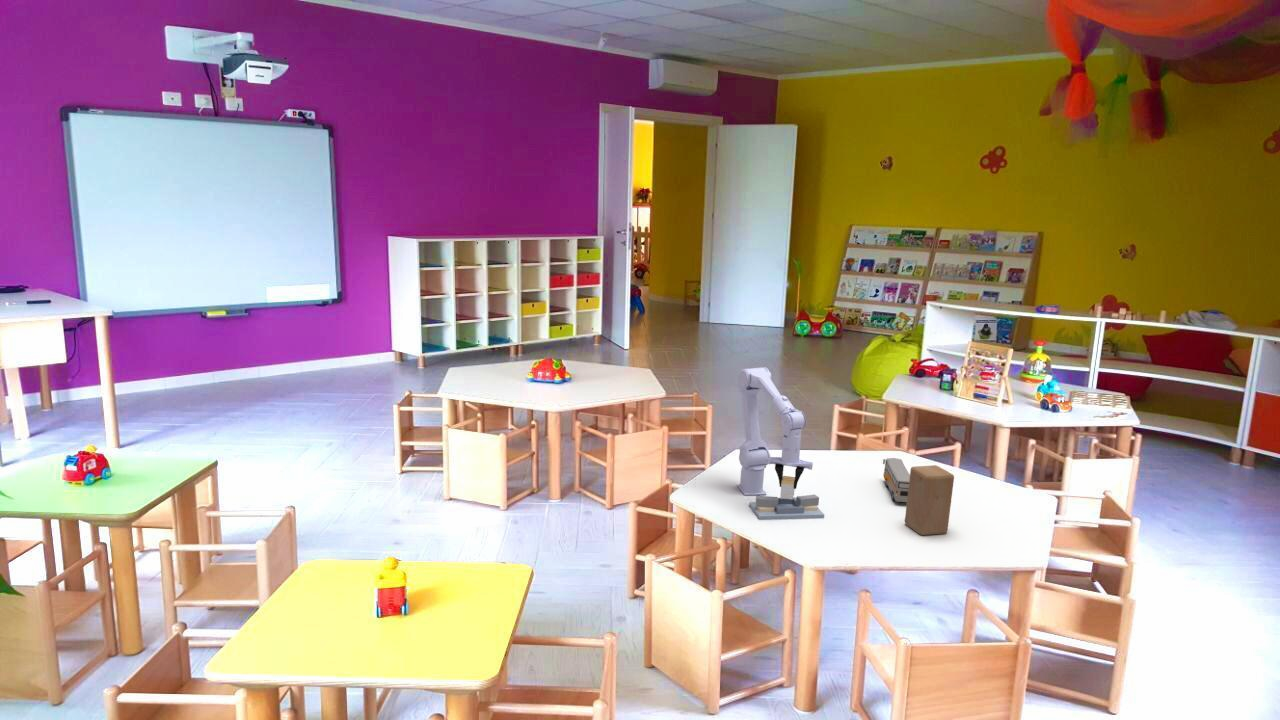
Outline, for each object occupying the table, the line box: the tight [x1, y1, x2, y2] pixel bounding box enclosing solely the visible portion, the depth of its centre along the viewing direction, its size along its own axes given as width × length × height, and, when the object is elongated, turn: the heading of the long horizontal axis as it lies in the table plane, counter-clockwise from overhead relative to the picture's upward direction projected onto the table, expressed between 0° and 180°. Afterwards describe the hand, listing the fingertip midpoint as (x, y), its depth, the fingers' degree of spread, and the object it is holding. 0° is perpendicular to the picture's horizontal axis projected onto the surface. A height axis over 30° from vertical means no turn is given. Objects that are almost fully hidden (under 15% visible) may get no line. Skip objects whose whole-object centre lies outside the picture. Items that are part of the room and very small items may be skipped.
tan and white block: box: [779, 475, 796, 500], centre depth 279 cm, size 5×4×6 cm
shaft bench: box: [748, 494, 825, 521], centre depth 281 cm, size 12×22×5 cm, turn 99°
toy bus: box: [882, 457, 910, 503], centre depth 301 cm, size 7×26×10 cm, turn 174°
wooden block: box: [904, 464, 955, 536], centre depth 270 cm, size 10×10×20 cm
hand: (788, 486), depth 280 cm, fingers closed on tan and white block, 4 cm apart
